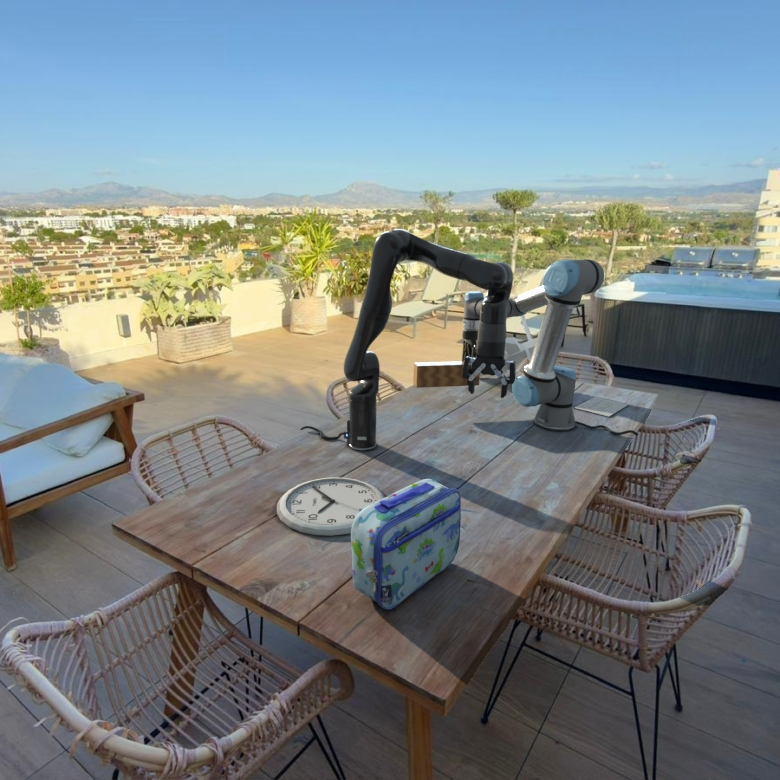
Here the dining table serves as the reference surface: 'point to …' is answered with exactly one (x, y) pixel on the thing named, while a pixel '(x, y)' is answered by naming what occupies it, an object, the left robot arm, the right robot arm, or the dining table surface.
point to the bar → (440, 374)
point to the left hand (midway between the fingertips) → (487, 395)
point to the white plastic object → (518, 348)
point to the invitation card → (601, 406)
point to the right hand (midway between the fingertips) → (468, 382)
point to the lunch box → (405, 541)
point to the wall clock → (326, 505)
